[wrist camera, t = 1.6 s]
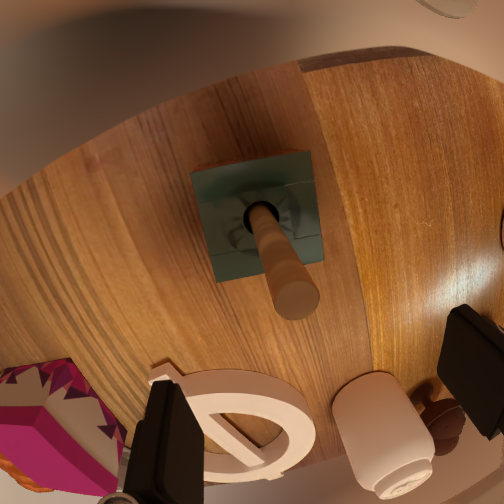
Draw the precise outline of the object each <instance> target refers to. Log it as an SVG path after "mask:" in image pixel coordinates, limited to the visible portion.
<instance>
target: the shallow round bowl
mask: <svg viewBox="0 0 504 504" xmlns="http://www.w3.org/2000/svg"><path fill="white" fill-rule="evenodd" d="M502 240H503V246H504V219H503V227H502Z"/></svg>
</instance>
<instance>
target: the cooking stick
mask: <svg viewBox="0 0 504 504" xmlns="http://www.w3.org/2000/svg"><path fill="white" fill-rule="evenodd" d="M246 210H247V214H248V217H249V220H250V224H251V227H252V231H253V234H254V238H255V241H256V245H257V248H258V252H259V255H260V259H261V262H262V266H263V269H264V273H265V276H266V280H267V283H268V287H269V290H270V294H271V297H272V301H273V304H274V308H275V310H276V312H277V313H278V314H279V315H280V316H281V317H283V318H285V319H287V320H301V319H304V318H306V317H308V316H309V315H311V314H312V313H313V312H314V311H315V310H316V308H317V306H318V304H319V300H320V294H319V290H318V288H317V287H316V285H315V283H314V282H313V280H312V278H311V277H310V275H309V273H308V271H307V270H306V268H305V266H304V265H303V263H302V261H301V260H300V258H299V256H298V255H297V253H296V251H295V250H294V248H293V247H292V245H291V243H290V242H289V240H288V238H287V237H286V235H285V233H284V232H283V230H282V229H281V227H280V225H279V224H278V222H277V220H276V219H275V217H274V216H273V214H272V212H271V211H270V209H269V208H268V206H267V204H266V203H265V201H258V202H254V203H252V204H251V205H249V206H248V208H247V209H246Z"/></svg>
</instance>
